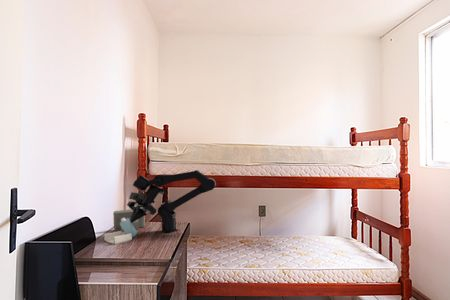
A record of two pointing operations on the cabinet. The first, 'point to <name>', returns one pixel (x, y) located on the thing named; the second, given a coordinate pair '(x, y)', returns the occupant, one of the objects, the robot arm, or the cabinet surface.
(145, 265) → the cabinet surface
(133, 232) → the bottle
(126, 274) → the cabinet surface
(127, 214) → the digital clock
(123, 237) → the u rest
